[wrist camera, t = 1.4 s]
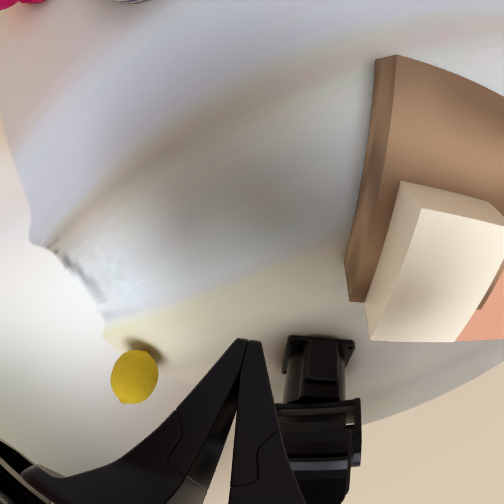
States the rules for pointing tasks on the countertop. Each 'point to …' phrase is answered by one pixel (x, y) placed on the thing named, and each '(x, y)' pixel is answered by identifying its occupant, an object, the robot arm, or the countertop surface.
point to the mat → (487, 317)
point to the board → (423, 153)
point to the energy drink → (128, 1)
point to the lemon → (134, 376)
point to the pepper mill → (6, 0)
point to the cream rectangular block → (433, 265)
